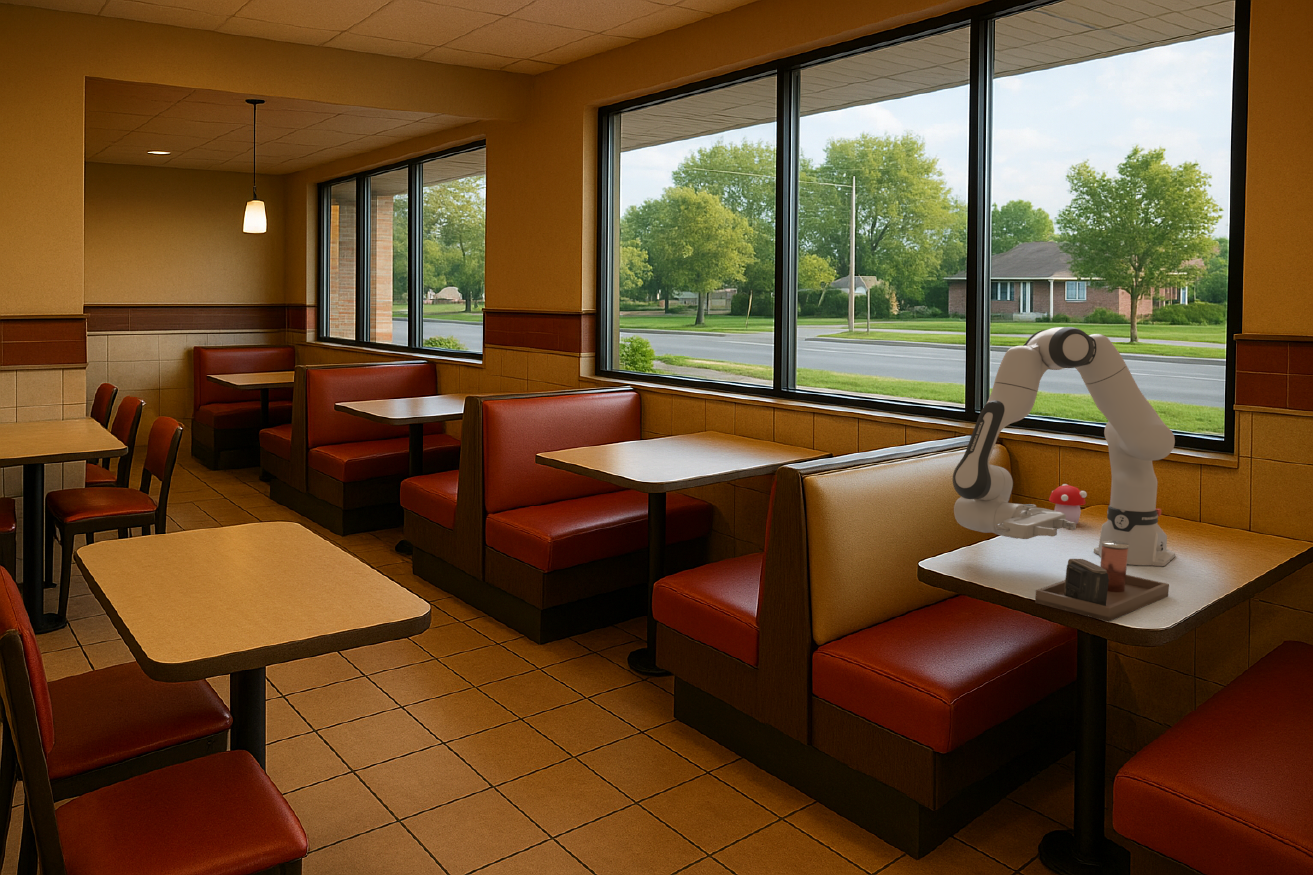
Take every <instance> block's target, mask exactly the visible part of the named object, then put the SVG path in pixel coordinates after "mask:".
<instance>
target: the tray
mask: <svg viewBox="0 0 1313 875" xmlns="http://www.w3.org/2000/svg"><path fill="white" fill-rule="evenodd" d="M1064 587H1065V579H1063V580H1062V581H1058V582H1055V583H1053V584H1050V585H1047V586H1044V587H1041V588H1038V589H1036V590H1035V599H1034V603H1035V604H1039V605H1043V606H1047V607H1051V608H1054V609H1057V610H1061V611H1065V612H1070V613H1072V614H1077V615H1081V616H1085V617H1089V618H1092V619H1096V620H1100V621H1105V622H1107V623H1109V622H1112V621H1113V620H1116V619H1118V618H1121V617H1123V616H1126V615H1128V614H1130V613H1133V612H1135V611H1137V610H1140V609H1141V608H1144V607H1147V606H1149V605H1152V604H1153V603H1155V602H1158V601H1160V600H1162V599H1165V598H1168V596H1169V592H1170V591H1169V590H1170V583H1167V582H1163V581H1162V582H1161V581H1157V580H1152V579H1148V578H1143V577H1140V576H1139V577H1138V576H1135V575H1131V574H1130V575H1129V574H1126V580H1125V591H1124V592H1108V591H1107V600H1106V606H1103V605H1099V604H1095V603H1091V602H1087V601H1083V600H1079V599H1075V598H1071V597H1067V596H1064Z"/></svg>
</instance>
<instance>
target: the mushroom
mask: <svg viewBox="0 0 1313 875" xmlns="http://www.w3.org/2000/svg"><path fill="white" fill-rule="evenodd" d="M1087 496H1088V493H1087V492H1086V491H1085V490H1080V488H1078V487H1077V486H1072V485H1070V484H1067V483H1063V484H1062V485H1060V486H1058V487H1056V488H1055V489H1054V490H1051V493H1050V496H1049V499H1048V502H1050V503H1053V504H1055V506H1054V511H1058V512H1062V513H1064V514H1065V515H1066V520H1068V521H1069V522H1075V523H1076V525H1078V524H1079V521H1080V516H1081V513H1082V511H1081V506H1084V505H1086V504H1087V502H1086V499H1085V498H1086V497H1087ZM1077 523H1078V524H1077Z"/></svg>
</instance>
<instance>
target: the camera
mask: <svg viewBox="0 0 1313 875" xmlns="http://www.w3.org/2000/svg"><path fill="white" fill-rule="evenodd" d="M1067 560H1068V561H1067V565H1066V570H1065V579H1064V580H1065V587H1064V596H1067V597H1071V598H1075V599H1079V600H1083V601H1087V602H1091V603H1095V604H1099V605H1103V606H1106V600H1107V590H1108V582H1109V579H1108V574H1107V570H1105V569H1103V568H1102V567H1100V566H1101V565H1098V564H1097V563H1096V564H1095V563H1093V562H1091V561H1089V560H1086V559H1084V558H1069V559H1067Z"/></svg>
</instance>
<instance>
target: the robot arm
mask: <svg viewBox="0 0 1313 875" xmlns="http://www.w3.org/2000/svg"><path fill="white" fill-rule="evenodd" d="M1064 369H1075V370H1077V371H1078V373H1079V375H1080V377H1081V379H1082V381H1083V383H1084V385H1085V386H1086V388H1087V390H1088V393H1089V395H1090V396H1091V399H1092V400H1093V402H1094V404H1095V406H1096V407H1097V409H1098V410H1099V412H1100V413H1101V414H1102V415H1103V416H1104V417H1105V418H1106V419H1107V422H1106V424H1105V427H1104V432H1103V434H1104V438H1105V440H1106V441H1105V442H1106V443H1107V447H1108V455H1109V464H1110V470H1111V471H1110V472H1111V473H1110V474H1111V486H1110V500H1109V505H1108V506H1107V511H1106V516H1107V517H1106V519H1107V521H1105V522H1103V523H1102V525H1101V530H1100V536H1099V543H1098V547H1094V549H1093V552H1094V554H1096V555H1098V556H1099V557H1100V558H1101V553H1102V541H1119V542H1124V543H1127V544H1129V548H1128V555H1127V565H1134V566H1156V567H1157V566H1158V567H1165V566H1166V565H1168V563H1169V562H1171V561H1172V560H1173V559H1174V558H1175V557H1176V552H1175V551H1172V550H1170V549H1167V546H1168V534H1166V532H1164V530H1163V528H1161V527H1160V525H1159V524H1158V522H1159V520H1158V518H1159V517H1160V516H1161V515H1162V508H1156V507H1157V506H1156V505H1157V495H1158V484H1159V483H1158V478H1157V476H1156V473H1155V470H1154V465H1153V461H1159V460H1163V459H1165V458H1167V457H1168V456H1169V455H1170V454H1172V452H1173V450H1174V448H1175V443H1176V440H1175V439H1176V438H1175V435H1174V433H1173V431H1172V430H1171V428H1169V427H1168V426H1167V425H1166V424H1165V422H1164V421H1163V420H1162V419H1161V417H1160V416H1159V414H1158V413H1157V411H1156V410H1155V409H1154V407H1153V406H1152V404H1151V403H1150V402H1149V401H1148V400H1147V398H1146V397H1145V395H1144V394H1143V393H1142V390H1140V388H1139V387H1138V386H1139V385H1138V384H1137V383H1136V380H1135V378H1134V377H1133V375H1132V374H1131V371H1130V370H1129V367H1128V366H1127V364H1126V361H1125V360H1124V359H1123V357H1122V355H1121V353H1120V352H1119V350H1118V349H1117V348H1116V346H1115V345H1114V344H1113V342H1112V340H1110V339H1109V338H1108V337H1107V336H1106V335H1104V334H1101V333H1093V334H1087V333H1086V332H1085V331H1084V330H1081V329H1079V328H1077V327H1072V326H1067V327H1065V326H1064V327H1063V326H1062V327H1061V326H1060V327H1059V326H1055V327H1052V328H1048V329H1043V330H1039V331H1036V332H1035V333H1033V334H1032V335H1031V336H1029V338H1028V339H1027V340H1026V341H1025V343H1023V345H1016V346H1012V347H1010V348H1009V349H1008V350H1006V352H1005V354H1004V355H1003V358H1002V360H1001V363H1000V365H999V366H998V370H997V372H996V376H995V377H994V378H995V379H994V383H993V386H992V389H991V392H990V395H989V397H988V400H987V402H986V404H985V405H984V406H983V407H982V409H981V411H980V413H979V415H978V417H977V420H976V423H975V425H974V427H973V431H972V434H971V436H970V439H969V441H968V444H967V446H966V448H965V452H964V454H963V456H962V458H961V459H960V461H959V462H958V464H957V465H956V466H955V468H954V471H953V474H952V486H953V488H954V490H955V492H956V493H957V494H958V495H959V496H960V497H959V498H957V500H955V503H954V505H953V513H954V518H955V520H956V523H958V524H959V525H960V526H961V527H964V528H966V529H968V530H972V531H976V532H979V533H983V534H984V533H985V534H986V533H993V534H995V535H998V536H1000V537H1006V538H1007V537H1008V538H1011V539H1020V540H1028V539H1032V538H1036V537H1039V536H1040V537H1046V536H1047V537H1055V536H1058V530H1059V529H1066V530H1068V531H1074V530H1076V528H1077V524H1076V523H1075V522H1069V521H1068V520H1066V515H1065V514H1064V513H1062V512H1058V511H1054V510H1053V509H1049V508H1044V507H1037V505H1036V504H1034V503H1033V504H1031V503H1028V504H1027V503H1026V504H1024V503H1023V504H1022V503H1014V502H1013V503H1012V502H1009V501H1010V498H1011V495H1012V492H1013V488H1014V479H1013V477H1012V474H1011V472H1010V471H1009V470H1008V469H1007V468H1005V467H1002V466H999V465H995V464H990V459H991V457H992V455H993V450H995V449H994V448H995V446H996V443H997V440H998V437H999V435H1000V433H1001V431H1002V430H1003V429H1005V427H1007V426H1009V425H1010V424H1013V423H1017V422H1019V421H1021V420H1023V419H1025V418H1026V417H1027V416H1029V415H1030V414H1031V411H1033V410H1032V409H1033V407H1034V405H1035V402H1036V400H1037V396H1038V392H1039V391H1038V390H1039V388H1040V382H1041V380H1042V377H1043V376H1044V374H1045V373H1046V372H1047V371H1048V370H1051V371H1052V370H1053V371H1060V370H1064ZM1170 560H1171V561H1170Z"/></svg>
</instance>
